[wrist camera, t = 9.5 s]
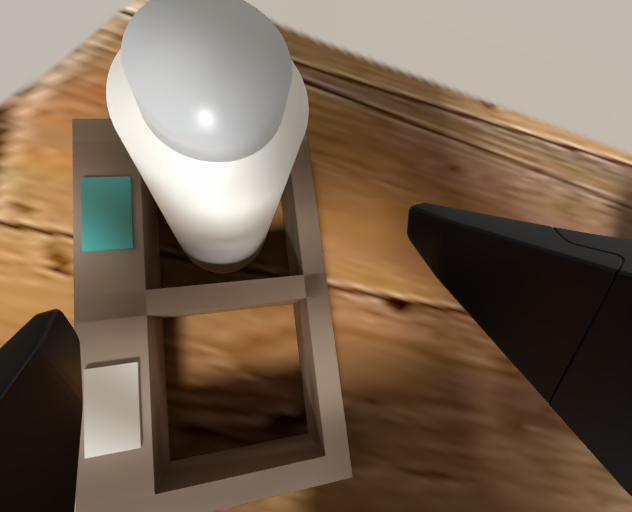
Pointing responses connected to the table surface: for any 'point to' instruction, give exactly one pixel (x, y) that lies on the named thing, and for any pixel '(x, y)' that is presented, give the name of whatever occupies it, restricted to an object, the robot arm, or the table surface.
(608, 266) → the robot arm
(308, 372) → the socket block
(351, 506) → the table surface
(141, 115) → the plug
